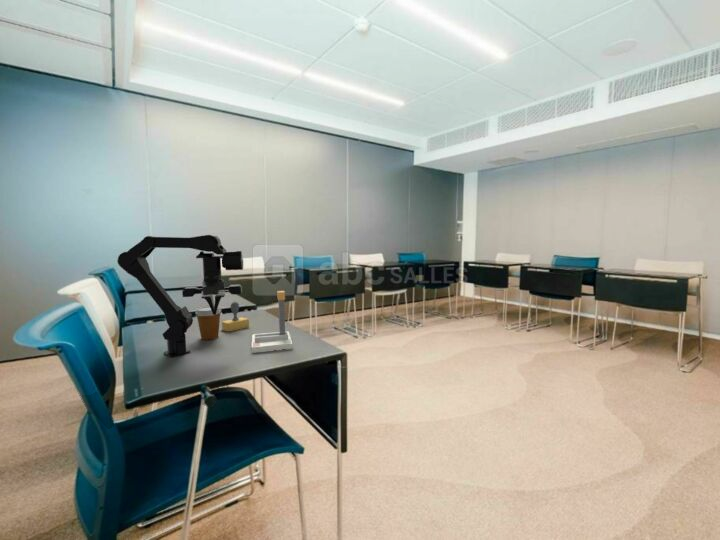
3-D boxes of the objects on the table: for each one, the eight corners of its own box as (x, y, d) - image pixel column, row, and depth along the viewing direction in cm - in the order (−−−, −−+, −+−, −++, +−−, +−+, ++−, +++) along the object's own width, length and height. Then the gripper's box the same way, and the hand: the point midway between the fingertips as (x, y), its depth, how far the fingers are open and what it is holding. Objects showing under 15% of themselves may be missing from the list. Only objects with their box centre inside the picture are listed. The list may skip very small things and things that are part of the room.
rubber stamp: (228, 332, 141) (227, 304, 140) (221, 329, 145) (220, 302, 144) (249, 327, 149) (248, 300, 148) (242, 324, 153) (241, 299, 151)
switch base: (251, 352, 116) (251, 342, 115) (252, 339, 131) (252, 330, 131) (292, 348, 120) (292, 339, 120) (288, 336, 135) (288, 327, 135)
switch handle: (279, 338, 125) (277, 292, 123) (278, 336, 128) (277, 291, 126) (286, 338, 125) (284, 292, 123) (285, 335, 128) (284, 290, 126)
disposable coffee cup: (222, 339, 131) (221, 309, 130) (195, 342, 128) (193, 311, 126) (222, 333, 140) (221, 305, 139) (197, 335, 136) (196, 306, 135)
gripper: (177, 274, 106) (180, 322, 107) (239, 272, 111) (241, 317, 113) (184, 270, 116) (187, 314, 118) (240, 269, 122) (242, 310, 123)
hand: (214, 314), depth 118 cm, fingers closed
